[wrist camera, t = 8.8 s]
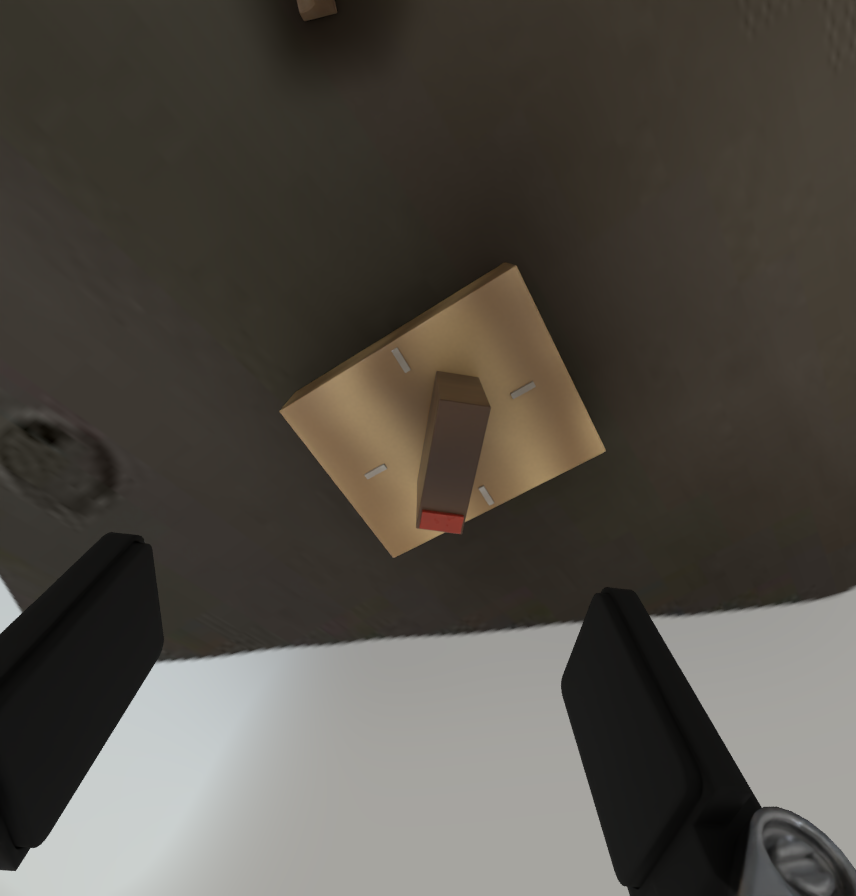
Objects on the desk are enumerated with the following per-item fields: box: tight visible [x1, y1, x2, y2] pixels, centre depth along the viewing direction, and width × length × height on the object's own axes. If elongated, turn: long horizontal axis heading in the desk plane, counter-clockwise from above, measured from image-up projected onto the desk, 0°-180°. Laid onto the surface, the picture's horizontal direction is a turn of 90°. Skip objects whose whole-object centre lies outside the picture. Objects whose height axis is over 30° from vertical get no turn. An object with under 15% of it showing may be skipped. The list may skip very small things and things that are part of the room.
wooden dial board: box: [280, 263, 606, 558], centre depth 28 cm, size 15×12×4 cm
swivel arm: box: [416, 371, 491, 534], centre depth 24 cm, size 7×2×5 cm, turn 171°
